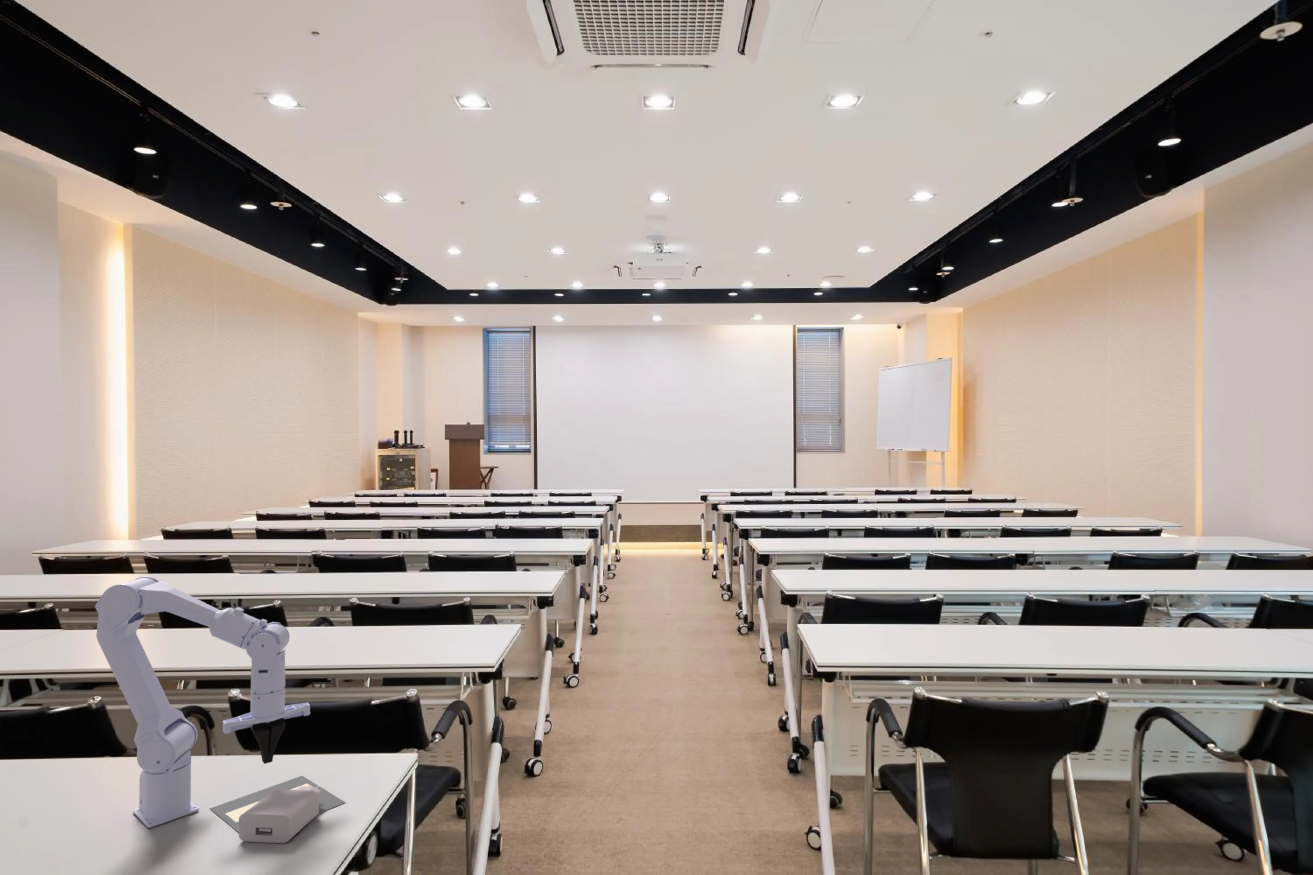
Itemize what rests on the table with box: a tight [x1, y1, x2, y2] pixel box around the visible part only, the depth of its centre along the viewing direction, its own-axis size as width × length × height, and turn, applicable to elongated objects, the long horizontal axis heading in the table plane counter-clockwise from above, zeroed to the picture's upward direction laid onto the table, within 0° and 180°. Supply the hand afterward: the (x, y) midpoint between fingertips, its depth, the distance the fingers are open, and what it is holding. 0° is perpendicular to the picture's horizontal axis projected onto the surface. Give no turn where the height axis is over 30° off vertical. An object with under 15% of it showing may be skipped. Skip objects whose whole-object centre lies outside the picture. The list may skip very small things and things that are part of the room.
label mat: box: [209, 775, 347, 834], centre depth 132 cm, size 18×17×1 cm
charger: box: [238, 785, 322, 844], centre depth 126 cm, size 5×9×15 cm
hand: (267, 761), depth 132 cm, fingers closed
